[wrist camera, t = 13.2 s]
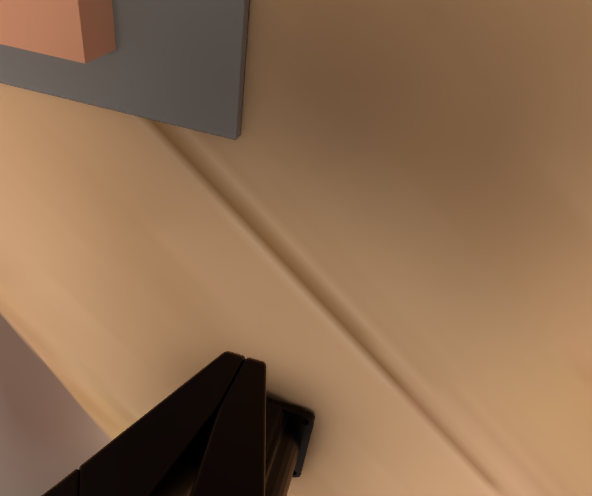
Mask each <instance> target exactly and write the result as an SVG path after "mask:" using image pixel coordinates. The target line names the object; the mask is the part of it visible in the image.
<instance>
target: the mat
mask: <svg viewBox="0 0 592 496" xmlns="http://www.w3.org/2000/svg"><path fill="white" fill-rule="evenodd" d="M112 6H113V18H114V31H115V43H116V50H114V51H112V52H110V53H107V54H105V55H103V56H101V57H99V58H96V59H94V60H92V61H90V62H88V63H80V62H76V61H72V60H67V59H63V58H59V57H54V56H50V55H46V54H41V53H37V52H33V51H28V50H24V49H20V48H15V47H11V46H7V45H2V44H0V83H3V84H7V85H11V86H15V87H19V88H24V89H28V90H32V91H36V92H40V93H44V94H48V95H52V96H56V97H61V98H65V99H69V100H73V101H77V102H81V103H85V104H89V105H94V106H98V107H102V108H106V109H110V110H114V111H118V112H122V113H126V114H131V115H135V116H139V117H143V118H147V119H151V120H155V121H159V122H163V123H168V124H172V125H176V126H180V127H184V128H188V129H192V130H196V131H201V132H205V133H209V134H213V135H217V136H221V137H225V138H229V139H233V140H236V139H237V138H238V137H239V136H240V130H241V115H242V101H243V86H244V71H245V57H246V42H247V27H248V13H249V0H112Z"/></svg>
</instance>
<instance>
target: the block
mask: <svg viewBox="0 0 592 496" xmlns="http://www.w3.org/2000/svg"><path fill="white" fill-rule="evenodd" d="M0 44H2V45H7V46H11V47H15V48H20V49H24V50H28V51H33V52H37V53H41V54H46V55H50V56H54V57H59V58H63V59H67V60H72V61H76V62H80V63H88V62H90V61H92V60H94V59H96V58H99V57H101V56H103V55H105V54H107V53H110V52H112V51H114V50H116V43H115V31H114V18H113V6H112V0H0Z"/></svg>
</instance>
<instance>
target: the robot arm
mask: <svg viewBox="0 0 592 496" xmlns="http://www.w3.org/2000/svg"><path fill="white" fill-rule="evenodd" d="M314 420H315V416H314V415H313V414H312V413H311V412H309V411H306V410H303V409H299V408H296V407H293V406H290V405H287V404H283V403H280V402H277V401H274V400H271V399H267V398H266V363H265V362H263V361H259V360H256V359H253V358H246V359H245V357H244V356H243V355H240V354H236V353H233V352H230V351H227V352H224V353H222V354H221V355H220V356H219V357H217V358H216V359H215V360H213V361H212V362H211V363H210V364H208V365H207V366H206V367H205V368H203V369H202V370H201V371H200V372H198V373H197V374H196V375H195V376H193V377H192V378H191V379H189V380H188V381H187V382H186V383H184V384H183V385H182V386H181V387H179V388H178V389H177V390H176V391H174V392H173V393H172V394H171V395H169V396H168V397H167V398H165V399H164V400H163V401H162V402H160V403H159V404H158V405H157V406H155V407H154V408H153V409H152V410H150V411H149V412H148V413H146V414H145V415H144V416H143V417H141V418H140V419H139V420H138V421H136V422H135V423H134V424H133V425H131V426H130V427H129V428H128V429H126V430H125V431H124V432H122V433H121V434H120V435H119V436H117V437H116V438H115V439H114V440H112V441H111V442H110V443H109V444H107V445H106V446H105V447H103V449H101V450H100V451H98V452H97V453H96V454H95V455H93V456H92V457H91V458H90V459H88V460H87V461H86V462H85V463H83V464H82V465H81V466H80V468H79V470H78V469H76V470H74V471H73V472H72V473H70V474H69V475H68V476H67V477H65V478H64V479H63V480H62V481H61V482H59V483H58V484H57V485H55V486H54V487H53V488H51V489H50V490H49V491H47V492H46V493H45V494H43V495H42V496H287V492H288V489H289V486H290V482H291V479H292V477H299V476H300V475H301V471H302V467H303V463H304V460H305V456H306V452H307V448H308V444H309V440H310V436H311V432H312V428H313V424H314Z"/></svg>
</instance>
